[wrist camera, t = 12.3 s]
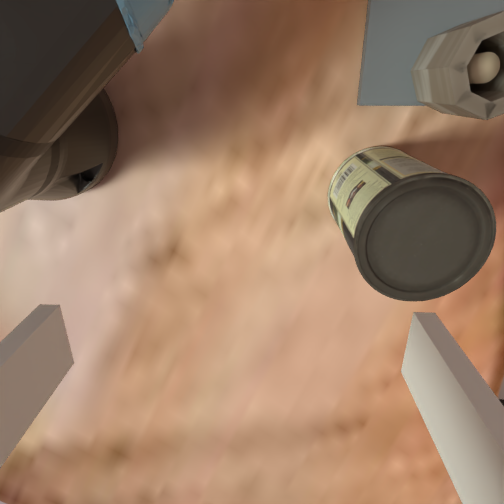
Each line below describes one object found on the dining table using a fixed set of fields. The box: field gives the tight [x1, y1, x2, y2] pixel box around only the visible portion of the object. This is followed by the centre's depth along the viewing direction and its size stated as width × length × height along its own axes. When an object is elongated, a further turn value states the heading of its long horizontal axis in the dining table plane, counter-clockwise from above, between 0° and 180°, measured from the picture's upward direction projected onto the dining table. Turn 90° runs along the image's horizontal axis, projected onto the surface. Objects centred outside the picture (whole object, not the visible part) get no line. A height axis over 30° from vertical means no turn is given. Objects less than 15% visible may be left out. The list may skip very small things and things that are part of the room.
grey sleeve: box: [411, 11, 504, 120], centre depth 31 cm, size 7×7×8 cm
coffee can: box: [328, 146, 496, 301], centre depth 34 cm, size 10×10×14 cm
